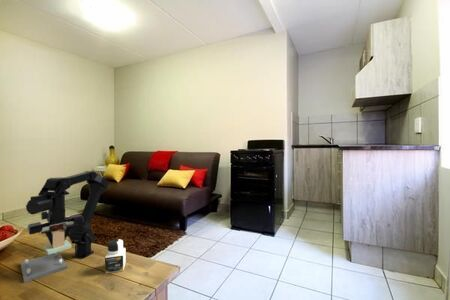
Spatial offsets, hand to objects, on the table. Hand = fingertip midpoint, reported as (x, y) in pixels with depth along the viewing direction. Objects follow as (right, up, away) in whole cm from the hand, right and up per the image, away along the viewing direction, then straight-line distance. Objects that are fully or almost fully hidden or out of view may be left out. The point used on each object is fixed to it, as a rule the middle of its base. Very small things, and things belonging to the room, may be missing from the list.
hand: (57, 242), depth 95 cm
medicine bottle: (+24, -12, +2) cm, 27 cm away
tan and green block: (0, -2, 0) cm, 2 cm away
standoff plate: (-9, -12, +3) cm, 15 cm away
